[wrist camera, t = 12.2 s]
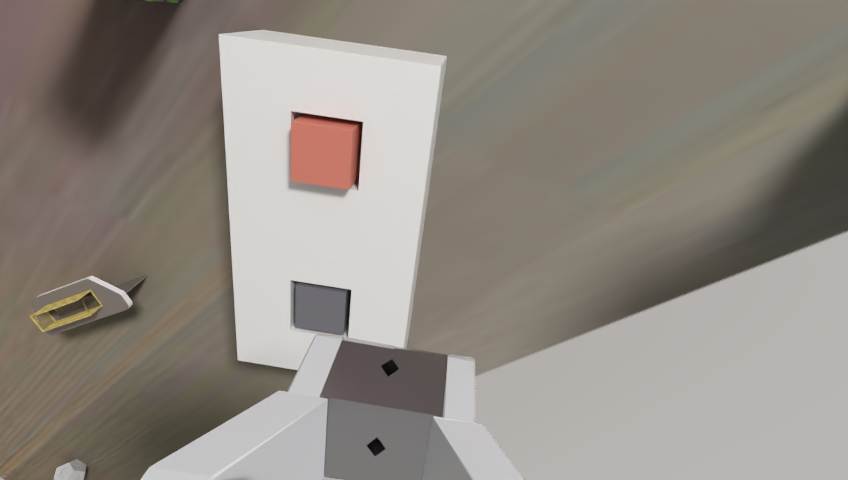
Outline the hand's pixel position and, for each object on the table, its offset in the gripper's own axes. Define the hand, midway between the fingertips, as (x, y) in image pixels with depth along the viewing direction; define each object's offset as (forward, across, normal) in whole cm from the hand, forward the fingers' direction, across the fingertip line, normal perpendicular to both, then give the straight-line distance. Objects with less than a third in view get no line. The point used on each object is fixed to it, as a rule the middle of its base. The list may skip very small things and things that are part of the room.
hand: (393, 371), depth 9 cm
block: (+31, +8, +10) cm, 34 cm away
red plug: (+28, +8, +3) cm, 30 cm away
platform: (+32, +31, +22) cm, 49 cm away
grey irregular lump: (+31, +40, +51) cm, 72 cm away
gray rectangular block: (+30, +8, +16) cm, 35 cm away
